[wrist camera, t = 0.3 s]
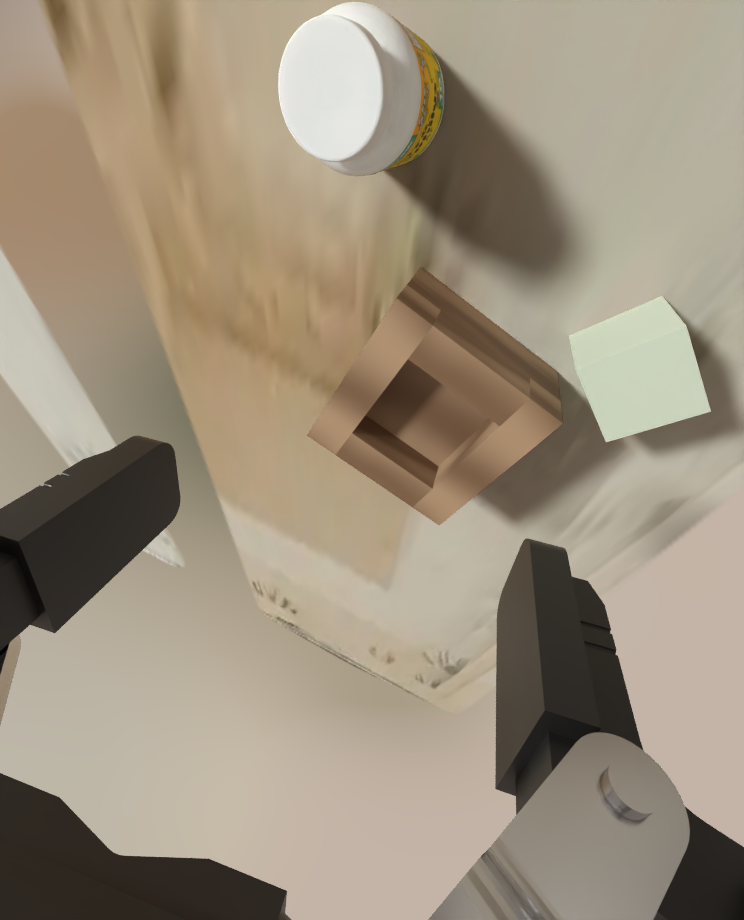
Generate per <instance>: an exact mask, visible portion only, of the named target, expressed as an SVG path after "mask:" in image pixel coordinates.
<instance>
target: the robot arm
mask: <svg viewBox="0 0 744 920" xmlns="http://www.w3.org/2000/svg"><path fill="white" fill-rule="evenodd" d="M179 506H180V491H179V483H178V475H177V467H176V459H175V452H174V449H173V448H172V446H171V445H170V444H168V443H165V442H161V441H157V440H153V439H149V438H145V437H142V436H133V437H131V438H129V439H127V440H126V441H124V442H123V443H121V444H119V445H118V446H116V447H114V448H113V449H111V450H110V451H107V452H104V453H101V454H98V455H95V456H92V457H89V458H86V459H83V460H81V461H80V462H78V463H76V464H75V465H73V466H71V467H70V468H68V469H66V470H65V471H63V472H62V475H56V476H55V477H53V478H51V479H50V480H48V481H46V482H45V483H44V486H39V487H36V488H35V489H33V490H32V491H30V492H28V493H26V494H25V495H23V496H21V497H20V498H18V499H16V500H15V501H13V502H12V503H10V504H8V505H6V506H5V507H3V508H1V509H0V724H1V720H2V717H3V713H4V709H5V705H6V702H7V698H8V694H9V690H10V686H11V683H12V679H13V675H14V671H15V667H16V664H17V660H18V656H19V652H20V648H21V639H20V636H19V634H20V633H21V632H22V631H23V630H24V629H26V628H27V627H28V626H29V625H33V626H36V627H39V628H42V629H44V630H48V631H50V632H53V633H56V632H57V631H58V630H59V629H60V628H61V627H62V626H63V625H64V624H65V623H66V622H67V621H68V620H69V619H70V618H71V617H72V616H73V615H74V614H76V612H78V611H79V609H81V608H82V607H83V606H84V605H85V604H86V603H87V602H88V601H89V600H90V599H91V598H92V597H93V596H94V595H95V594H96V593H98V592H99V590H101V589H102V588H103V587H104V586H105V585H106V584H107V583H108V582H109V581H110V580H111V579H112V578H113V577H114V576H115V575H117V574H118V572H119V571H121V570H122V569H123V568H124V567H125V566H126V565H127V564H128V563H129V562H130V561H131V560H132V559H133V558H134V557H135V556H136V555H138V553H140V552H141V551H142V550H143V549H144V548H145V547H146V546H147V545H148V544H149V543H150V542H151V541H152V540H153V539H154V538H155V537H156V536H158V535H159V534H160V533H161V532H162V531H163V530H164V529H165V528H166V527H167V526H168V525H169V524H170V523H171V522H172V521H173V519H174V518H175V516H176V514H177V512H178V509H179ZM610 630H611V628H610V624H609V621H608V617H607V613H606V609H605V605H604V604H603V602H602V601H601V599H600V598H599V596H598V595H597V594H596V592H595V591H594V589H593V588H592V586H591V585H590V584H589V582H588V581H586V580H582V579H578V578H574V577H572V576H571V571H570V566H569V561H568V555H567V552H566V550H565V549H564V548H562V547H558V546H554V545H550V544H546V543H543V542H539V541H535V540H531V539H525V540H524V541H523V543H522V545H521V547H520V550H519V552H518V555H517V557H516V559H515V562H514V564H513V566H512V569H511V571H510V574H509V576H508V578H507V581H506V583H505V586H504V588H503V591H502V594H501V597H500V601H499V606H498V613H497V674H496V789H498V790H500V791H503V792H506V793H509V794H512V795H514V796H516V816H515V818H514V819H513V820H512V821H511V823H510V824H509V825H508V826H507V827H506V829H505V830H504V831H503V832H502V834H501V835H500V836H499V837H498V839H497V840H496V841H495V842H494V843H493V844H492V846H491V847H490V848H489V849H488V850H487V851H486V852H485V853H484V854H483V855H482V856H481V857H480V858H479V859H478V861H477V862H476V863H475V864H474V866H472V868H471V869H470V870H469V871H468V872H467V874H466V875H465V876H464V877H463V878H462V880H461V881H460V882H459V883H458V884H457V886H456V887H455V888H454V889H453V891H452V892H451V893H450V894H449V895H448V897H447V898H446V899H445V900H444V901H443V903H442V904H441V905H440V906H439V907H438V909H437V910H436V911H435V912H434V914H433V915H432V916H431V917H430V918H429V920H744V847H742V846H741V845H739V844H738V843H736V842H735V841H733V840H732V839H730V838H728V837H727V836H726V835H724V834H722V833H721V832H719V831H718V830H716V829H715V828H713V827H712V826H710V825H709V824H707V823H706V822H704V821H703V820H701V819H700V818H699V817H697V816H696V815H694V814H693V813H692V812H691V811H690V810H689V809H687V808H686V807H685V806H684V804H683V801H682V799H681V796H680V795H679V793H678V791H677V790H676V787H675V786H674V784H673V783H672V781H671V780H670V778H669V777H668V775H667V774H666V773H665V772H664V771H663V769H662V768H661V767H660V766H659V765H658V764H657V763H656V762H655V761H654V760H653V759H652V758H651V757H650V756H649V755H648V754H646V753H645V752H644V751H643V748H642V745H641V742H640V738H639V734H638V731H637V727H636V723H635V719H634V715H633V712H632V708H631V704H630V700H629V696H628V693H627V689H626V685H625V681H624V678H623V674H622V670H621V666H620V663H619V658H618V656H617V655H615V653H616V647H615V643H614V640H613V636H612V634H610ZM286 895H287V891H286V890H283V889H281V888H278V887H276V886H273V885H271V884H268V883H266V882H264V881H261V880H259V879H256V878H254V877H252V876H249V875H247V874H244V873H242V872H239V871H237V870H234V869H232V868H229V867H227V866H225V865H222V864H220V863H218V862H215V861H212V860H210V859H196V858H169V857H140V856H122V855H118V854H115V853H113V852H112V851H111V850H109V849H108V848H107V847H106V846H105V845H104V843H102V841H101V840H100V839H99V838H98V837H97V836H96V835H95V834H94V833H93V832H92V831H91V830H90V829H89V828H88V827H87V826H86V825H85V824H84V823H83V822H82V820H81V819H80V818H79V817H78V816H77V815H76V814H75V813H74V812H73V811H72V810H71V809H70V808H69V807H68V806H67V805H66V804H65V803H64V802H63V801H62V800H61V799H60V798H59V797H57V796H54V795H52V794H49V793H47V792H45V791H42V790H40V789H37V788H35V787H33V786H30V785H28V784H25V783H23V782H20V781H18V780H15V779H13V778H10V777H8V776H6V775H3V774H1V773H0V920H291V919H290V918H289V917H288V916H287V915H286V914H285V907H286Z"/></svg>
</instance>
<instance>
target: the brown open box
mask: <svg viewBox="0 0 744 920" xmlns="http://www.w3.org/2000/svg"><path fill="white" fill-rule="evenodd" d="M562 424H563V418H562V409H561V400H560V390H559V381H558V372H557V371H556V370H554V369H553V368H552V367H551V366H549V365H548V364H547V363H545V362H544V361H543V360H541V359H540V358H539V357H538V356H536V355H535V354H534V353H532V352H531V351H530V350H528V349H527V348H526V347H525V346H523V345H522V344H521V343H519V342H518V341H517V340H515V339H514V338H513V337H512V336H510V335H509V334H508V333H506V332H505V331H504V330H502V329H501V328H500V327H499V326H497V325H496V324H495V323H493V322H492V321H491V320H489V319H488V318H487V317H486V316H484V315H483V314H482V313H480V312H479V311H478V310H477V309H475V308H474V307H473V306H471V305H470V304H469V303H467V302H466V301H465V300H464V299H462V298H461V297H460V296H458V295H457V294H456V293H454V292H453V291H452V290H451V289H449V288H448V287H447V286H445V285H444V284H443V283H441V282H440V281H439V280H438V279H436V278H435V277H434V276H432V275H431V274H430V273H428V272H427V271H426V270H425V269H423V268H422V267H421V268H420V269H419V270H418V272H417V273H416V274H415V276H414V277H413V278H412V279H411V281H410V282H409V283H408V284H407V286H406V287H405V288H404V289H403V291H402V292H401V293H400V294H399V296H398V297H397V298H396V300H395V301H394V303H393V304H392V306H391V307H390V309H389V310H388V312H387V313H386V315H385V316H384V318H383V319H382V321H381V323H380V324H379V326H378V327H377V329H376V330H375V332H374V333H373V335H372V336H371V338H370V339H369V341H368V342H367V344H366V345H365V347H364V349H363V350H362V352H361V353H360V355H359V356H358V358H357V359H356V361H355V362H354V364H353V365H352V367H351V368H350V370H349V371H348V373H347V374H346V376H345V378H344V379H343V381H342V382H341V384H340V385H339V387H338V388H337V390H336V391H335V393H334V394H333V396H332V397H331V399H330V400H329V402H328V404H327V405H326V407H325V408H324V410H323V411H322V413H321V414H320V416H319V417H318V419H317V420H316V422H315V423H314V425H313V426H312V428H311V430H310V431H309V433H308V434H307V436H309V437H310V438H312V439H313V440H314V441H316V442H317V443H319V444H320V445H322V446H323V447H325V448H326V449H328V450H329V451H331V452H332V453H334V454H335V455H337V456H338V457H339V458H341V459H342V460H344V461H345V462H347V463H348V464H350V465H351V466H353V467H354V468H356V469H357V470H359V471H360V472H362V473H363V474H364V475H366V476H367V477H369V478H370V479H372V480H373V481H375V482H376V483H378V484H379V485H381V486H382V487H384V488H385V489H387V490H388V491H389V492H391V493H392V494H394V495H395V496H397V497H398V498H400V499H401V500H403V501H404V502H406V503H407V504H409V505H410V506H412V507H413V508H414V509H416V510H417V511H419V512H420V513H422V514H423V515H425V516H426V517H428V518H429V519H431V520H432V521H434V522H435V523H437V524H438V525H440V524H442V523H443V522H444V521H445V520H447V519H448V518H449V517H450V516H451V515H453V514H454V513H455V512H456V511H457V510H459V509H460V508H461V507H462V506H464V505H465V504H466V503H467V502H468V501H470V500H471V499H472V498H473V497H475V496H476V495H477V494H478V493H479V492H481V491H482V490H483V489H484V488H485V487H487V486H488V485H489V484H490V483H492V482H493V481H494V480H495V479H496V478H498V477H499V476H500V475H501V474H502V473H504V472H505V471H506V470H507V469H509V468H510V467H511V466H512V465H513V464H515V463H516V462H517V461H518V460H519V459H521V458H522V457H523V456H524V455H526V454H527V453H528V452H529V451H530V450H532V449H533V448H534V447H535V446H537V445H538V444H539V443H540V442H541V441H543V440H544V439H545V438H546V437H547V436H549V435H550V434H551V433H552V432H554V431H555V430H556V429H557V428H558V427H560V426H561V425H562Z"/></svg>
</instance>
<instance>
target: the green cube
mask: <svg viewBox="0 0 744 920" xmlns="http://www.w3.org/2000/svg"><path fill="white" fill-rule="evenodd" d="M569 338H570V343H571V348H572V354H573V359H574V364H575V369H576V372H577V374H578V377H579V379H580V381H581V384H582V386H583V389H584V391H585V393H586V396H587V398H588V401H589V403H590V406H591V408H592V410H593V413H594V415H595V418H596V420H597V422H598V425H599V427H600V430H601V432H602V434H603V437H604V439H605V442H609V441H613V440H616V439H619V438H623V437H626V436H630V435H633V434H636V433H640V432H643V431H647V430H650V429H653V428H657V427H660V426H664V425H667V424H670V423H674V422H677V421H681V420H684V419H687V418H691V417H694V416H698V415H701V414H704V413H708V412H711V410H710V406H709V403H708V399H707V396H706V392H705V389H704V385H703V382H702V378H701V375H700V371H699V368H698V364H697V361H696V357H695V354H694V350H693V347H692V343H691V340H690V336H689V333H688V329H687V326H686V325H685V324H684V322H683V321H682V320H681V319H680V317H679V316H678V315H677V314H676V312H675V311H674V310H673V309H672V307H671V306H670V305H669V304H668V302H667V301H666V300H665V299H664V297H663V296H661V297H658V298H656V299H654V300H651V301H649V302H647V303H644V304H642V305H640V306H637V307H635V308H633V309H631V310H628V311H626V312H624V313H621V314H619V315H617V316H614V317H612V318H610V319H607V320H605V321H603V322H600V323H598V324H596V325H593V326H591V327H589V328H586V329H584V330H582V331H579V332H577V333H575V334H572V335H570V336H569Z"/></svg>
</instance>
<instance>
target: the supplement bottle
mask: <svg viewBox="0 0 744 920" xmlns="http://www.w3.org/2000/svg"><path fill="white" fill-rule="evenodd" d="M278 90H279V100H280V106H281V110H282V113H283V117H284V119H285V122H286V124H287V127H288V129H289V131H290V132H291V134H292V136H293V137H294V138H295V140H296V141H297V143H298V144H299V145H300V146H301V147H302V148H303V149H304V150H305V151H307V152H308V153H309V154H311V155H312V156H314V157H316V158H318V159H320V160H321V161H322V162H323V163H324V164H325V165H327V166H328V167H330V168H331V169H333V170H335V171H337V172H339V173H342V174H345V175H350V176H366V175H372V174H376V173H378V172H381V171H384V170H387V169H390V168H393V167H396V166H399V165H403V164H406V163H408V162H410V161H412V160H414V159H415V158H417V157H418V156H420V155H421V154H422V153H423V152H424V151H425V150H426V149H427V148H428V146H429V145H430V144H431V142H432V140H433V139H434V137H435V135H436V133H437V131H438V129H439V126H440V123H441V120H442V116H443V110H444V82H443V76H442V71H441V68H440V65H439V62H438V60H437V58H436V56H435V54H434V52H433V51H432V49H431V48H430V47H429V46H428V45H427V44H426V43H425V42H424V41H423V40H422V39H421V38H420V37H418V36H417V35H416V34H415V33H413V32H412V31H411V30H409V29H408V28H407V27H405V26H404V25H403V24H401V23H400V22H399V21H397V20H396V19H395V18H394V17H392V16H391V15H390V14H388V13H387V12H385V11H384V10H382V9H380V8H378V7H376V6H374V5H371V4H368V3H362V2H348V3H343V4H340V5H337V6H335V7H333V8H331V9H329V10H328V11H326V12H325V13H323V14H322V15H320V16H317V17H314V18H312V19H310V20H308V21H307V22H305V23H304V24H303V25H301V26H300V27H299V28H298V29H297V31H296V32H295V33H294V34H293V36H292V37H291V39H290V40H289V42H288V44H287V46H286V48H285V51H284V53H283V56H282V60H281V64H280V69H279V78H278Z"/></svg>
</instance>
